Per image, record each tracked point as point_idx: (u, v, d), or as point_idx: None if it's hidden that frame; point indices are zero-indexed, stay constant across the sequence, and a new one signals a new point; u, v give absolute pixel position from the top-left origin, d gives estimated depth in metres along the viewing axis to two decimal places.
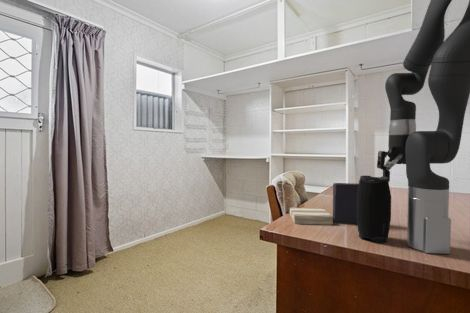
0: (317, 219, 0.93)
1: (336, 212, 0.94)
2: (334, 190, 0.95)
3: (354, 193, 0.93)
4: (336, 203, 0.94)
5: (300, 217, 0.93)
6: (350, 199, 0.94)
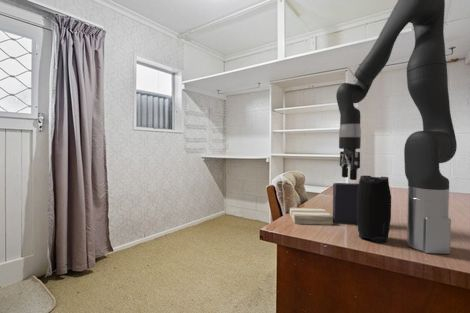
0: (317, 219, 0.93)
1: (336, 212, 0.94)
2: (334, 190, 0.95)
3: (354, 193, 0.93)
4: (336, 203, 0.94)
5: (300, 217, 0.93)
6: (350, 199, 0.94)
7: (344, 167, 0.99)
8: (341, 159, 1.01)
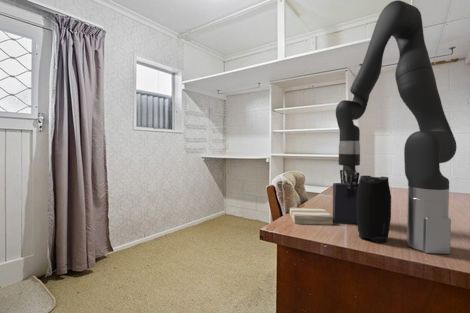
0: (317, 219, 0.93)
1: (336, 212, 0.94)
2: (334, 190, 0.95)
3: (354, 193, 0.93)
4: (336, 203, 0.94)
5: (300, 217, 0.93)
6: (350, 199, 0.94)
7: None
8: (342, 177, 1.00)
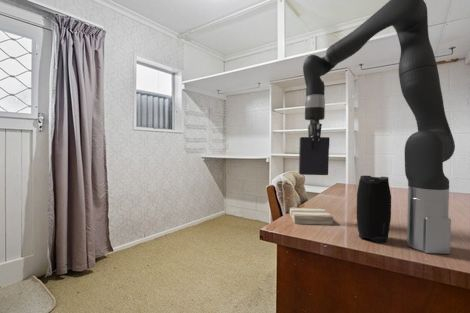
0: (317, 219, 0.93)
1: (301, 164, 0.98)
2: (300, 143, 0.99)
3: (318, 146, 0.97)
4: (301, 155, 0.98)
5: (300, 217, 0.93)
6: (314, 151, 0.98)
7: None
8: (309, 133, 1.04)
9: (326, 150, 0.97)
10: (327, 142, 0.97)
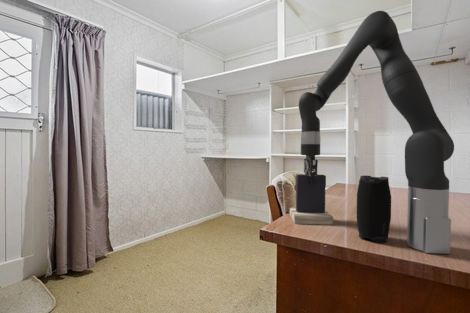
0: (317, 219, 0.93)
1: (298, 202, 0.98)
2: (296, 181, 0.99)
3: (315, 184, 0.97)
4: (298, 193, 0.98)
5: (300, 217, 0.93)
6: (311, 189, 0.98)
7: None
8: (305, 166, 1.05)
9: (323, 188, 0.97)
10: (324, 180, 0.97)
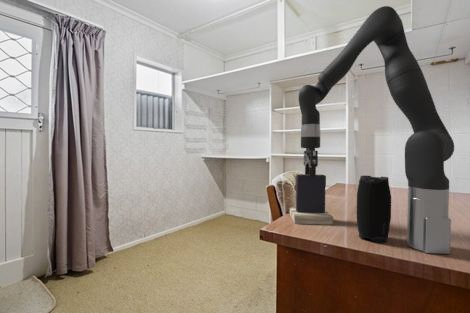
0: (317, 219, 0.93)
1: (298, 202, 0.98)
2: (296, 181, 0.99)
3: (315, 184, 0.97)
4: (298, 193, 0.98)
5: (300, 217, 0.93)
6: (311, 189, 0.98)
7: (307, 166, 1.03)
8: None
9: (323, 188, 0.97)
10: (324, 180, 0.97)
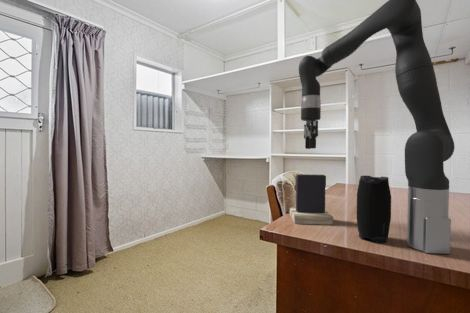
0: (317, 219, 0.93)
1: (298, 202, 0.98)
2: (296, 181, 0.99)
3: (315, 184, 0.97)
4: (298, 193, 0.98)
5: (300, 217, 0.93)
6: (311, 189, 0.98)
7: (307, 139, 1.03)
8: (305, 132, 1.05)
9: (323, 188, 0.97)
10: (324, 180, 0.97)
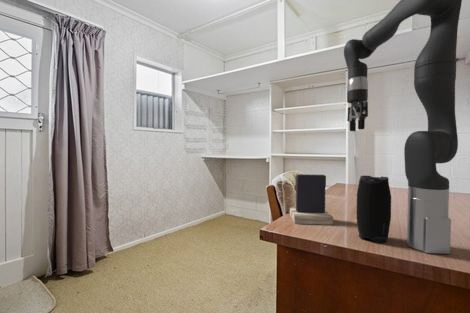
0: (317, 219, 0.93)
1: (298, 202, 0.98)
2: (296, 181, 0.99)
3: (315, 184, 0.97)
4: (298, 193, 0.98)
5: (300, 217, 0.93)
6: (311, 189, 0.98)
7: (352, 121, 1.04)
8: (349, 114, 1.06)
9: (323, 188, 0.97)
10: (324, 180, 0.97)
